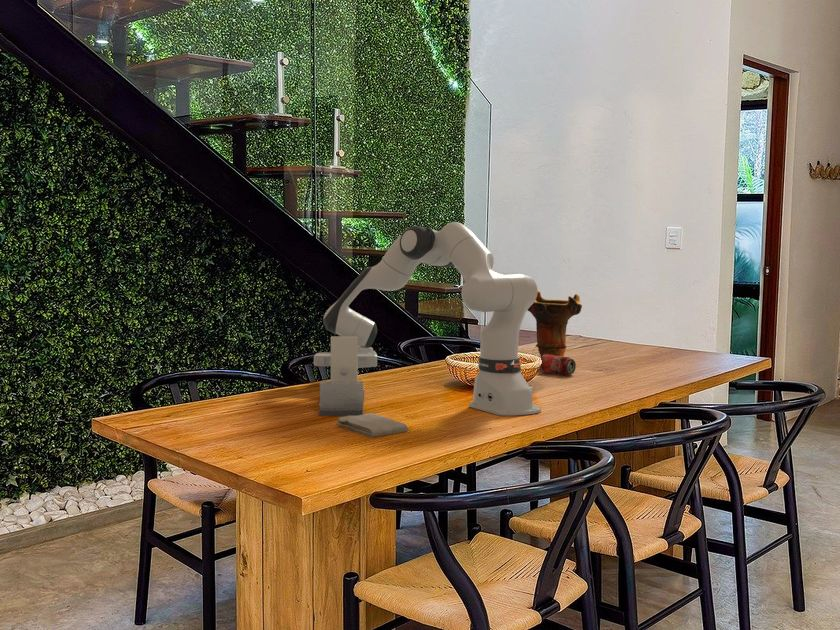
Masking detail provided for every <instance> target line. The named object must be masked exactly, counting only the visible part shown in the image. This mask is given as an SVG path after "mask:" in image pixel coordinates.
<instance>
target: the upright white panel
mask: <svg viewBox="0 0 840 630" xmlns="http://www.w3.org/2000/svg"><path fill="white" fill-rule="evenodd" d="M330 352H331V366H330V381H359V379H358V374H359V373H358V369H359V368H358V336H339V335H337V336H336V335H335V336H334V335H333V336H332V335H331V336H330Z"/></svg>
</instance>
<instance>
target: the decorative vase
mask: <svg viewBox="0 0 840 630" xmlns="http://www.w3.org/2000/svg"><path fill="white" fill-rule="evenodd" d="M537 290H538V293H537V298H536V300H535V302H534V303H533V304H532V305H531V306H530V307H529V308H528V310H527V312H529V313H530V314H531V315H532V316H533V318H535V323H536V343H537V344H536V345H535V347H534V349H533V354H534V352H535V348H538V349H537V351H538V353H539V356H540V357H541V358H542V356H543V355H546V354H548V355H555V356H562V357H565V352H566V350H567V344H566V340H567V339H566V338H567V337H566V335H567V334H566V333H567V325H568V323H569V320H570V319H571V318H572V317H574V316H576V315H579V314H580V313H581V311H582V307H583V305H582V303H581V300H580V294H578V293H575V294H574V296H573V297H572V296H568V298H567V299H549V298H544V297H542V294H541V290H539V289H537Z"/></svg>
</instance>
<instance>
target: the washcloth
mask: <svg viewBox="0 0 840 630" xmlns="http://www.w3.org/2000/svg"><path fill="white" fill-rule="evenodd" d="M336 425H338V426H339V427H341V428H343V429H346V430H348V431H351V432H354V433H357V434H360V435H362V436H365V437H369V438H376V437H381V436H387V435H394V434H395V435H396V434H399V433H401V434H402V433H405V432H407V431H409V429H408V426H407V424H405V423H404V422H403V423H402V422H400V421H397V420H395V419H391V418H390V417H389V418H388V417H385V416H382V415H379V414H375V413H372V412H370V413H369V412H367V413H363V415H359V416H339V417H338V418H337V422H336Z"/></svg>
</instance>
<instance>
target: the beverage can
mask: <svg viewBox="0 0 840 630" xmlns="http://www.w3.org/2000/svg"><path fill="white" fill-rule="evenodd" d="M541 360H542V364H541V366H540V365H539V370H540V371H541V372H542V373H545V374H551V373H552V374H551V375H558V374H559V376H565V375H568V376H571V375H572V374H574V373H575V371H576V365H577V364H576V361H575V359H573V358H571V357H569V356H564V357H562V356H555V355H548V354H546V355H543V356H542V358H541Z"/></svg>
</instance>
